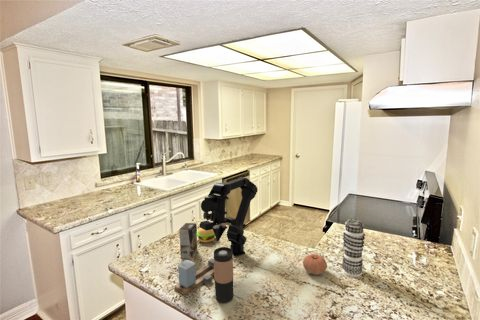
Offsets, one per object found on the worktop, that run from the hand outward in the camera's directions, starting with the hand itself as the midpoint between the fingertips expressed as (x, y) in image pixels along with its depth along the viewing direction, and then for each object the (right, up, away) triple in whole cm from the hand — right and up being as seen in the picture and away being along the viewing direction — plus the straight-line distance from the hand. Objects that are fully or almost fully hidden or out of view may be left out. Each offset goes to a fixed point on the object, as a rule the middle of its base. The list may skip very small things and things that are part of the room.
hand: (217, 240), depth 128 cm
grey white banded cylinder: (+64, -13, -5) cm, 65 cm away
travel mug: (+5, -17, -21) cm, 28 cm away
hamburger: (-9, -9, +31) cm, 34 cm away
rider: (-12, -16, -14) cm, 24 cm away
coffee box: (-16, -12, +13) cm, 24 cm away
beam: (-6, -15, -9) cm, 18 cm away
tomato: (+46, -13, -5) cm, 48 cm away
